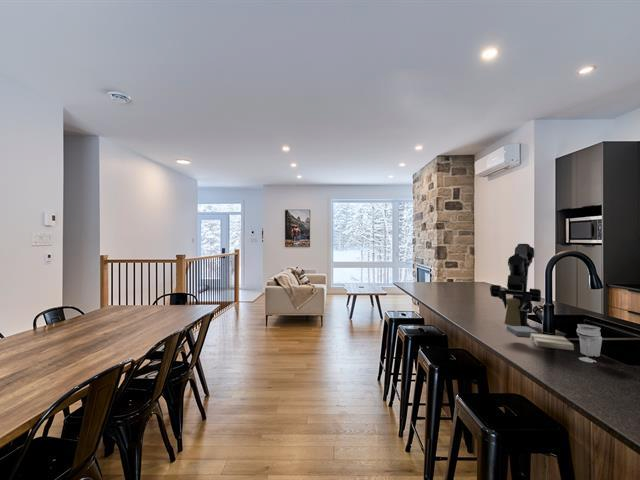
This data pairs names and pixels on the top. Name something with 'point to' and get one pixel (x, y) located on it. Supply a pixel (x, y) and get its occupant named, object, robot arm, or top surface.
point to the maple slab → (551, 341)
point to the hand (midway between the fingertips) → (512, 309)
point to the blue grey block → (521, 330)
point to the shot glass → (591, 347)
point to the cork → (512, 312)
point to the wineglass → (588, 337)
